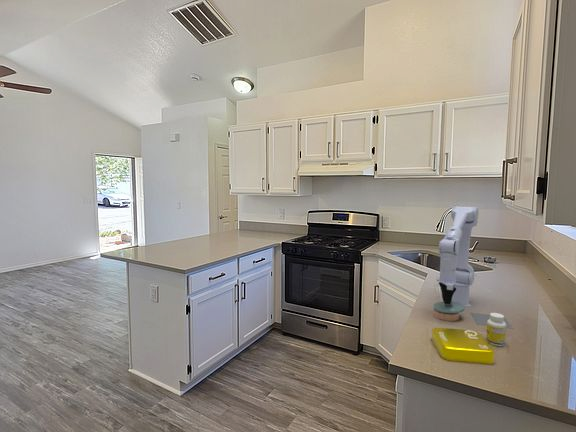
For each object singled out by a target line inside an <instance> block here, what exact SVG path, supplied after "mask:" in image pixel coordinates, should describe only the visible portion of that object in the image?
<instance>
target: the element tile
mask: <svg viewBox="0 0 576 432" xmlns="http://www.w3.org/2000/svg"><path fill="white" fill-rule="evenodd" d="M431 331H432V332H431V341H432V343H433V345H434V347H435V348H436V350H437V352H438V354H439V355H440V357H441V358H442V359H443V360H446V361H450V362H463V363H475V364H485V365H493V364H494V363H495V349H494V348H493V346H492V344H490V343H488V341H487V339H485V338H484V336H483V335H482V334H481V333H480V332H479V331H477V330H473V329H461V328H460V329H459V328H444V327H433V328H432V330H431Z"/></svg>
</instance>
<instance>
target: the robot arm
mask: <svg viewBox="0 0 576 432" xmlns="http://www.w3.org/2000/svg"><path fill="white" fill-rule="evenodd" d="M450 213H451V216H450V217H451V219H452V223H451V224H452V226H449V227H448V229H447V231H446V232H445V235H444V237H443V239H440V240H439V242H438V243H439V244H438V253H439V258H440V261H439V262H440V263H439V277H438V278H436V279H435V280H436V281H437V282H438V285H439V287H440V291H441V295H442V296H441V297H442V300H443V301H444V303H445V304H450V303H451V300H452V302H457V303H460V304H462V305H464V307H472V305H471V304H470V288H471V287H470V286H473V284H474V282H475V281H474V280H475V269H474V267H473V266H472V265H471V264H469V255H470V246H471V238H472V237H471V236H472V230H473V228H475V227H476V226H477V225H478V222H479V221H478V220H479V208H478V207H477V206H456V205H454V206H453V207H452V208H451V211H450Z"/></svg>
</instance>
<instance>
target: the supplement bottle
mask: <svg viewBox="0 0 576 432" xmlns="http://www.w3.org/2000/svg"><path fill="white" fill-rule="evenodd" d="M489 315H490V319H489V320H488V321H487V326H486V341H487V342H488V343H489V344H490V345H491V346H495V347H504V346H506V337H507V336H506V335H507V333H506V332H507V328H506V323H505V322H504V317H505V315H503V314H501V313H498V312H490V314H489Z"/></svg>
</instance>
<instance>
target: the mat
mask: <svg viewBox="0 0 576 432" xmlns="http://www.w3.org/2000/svg"><path fill="white" fill-rule="evenodd" d="M470 315H471V317H472V319H473V321H474V322H475V323H476V325H477V326H478V325H479V326H486V327H487V321H488V320H489V319H490V314H487V313H486V314H485V313H477V312H470ZM504 322H505V323H506V329H511V330H514V329H515V328H514V327H513V325H511V324H510V322H509V321H508V320H507V319H506V318H505V316H504Z"/></svg>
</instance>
